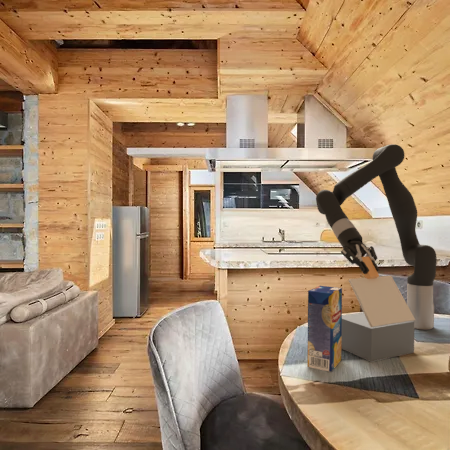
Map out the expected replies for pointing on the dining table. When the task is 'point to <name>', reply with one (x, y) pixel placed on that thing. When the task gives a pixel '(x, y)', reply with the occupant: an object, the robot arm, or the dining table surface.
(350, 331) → the carton
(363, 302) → the lid flap
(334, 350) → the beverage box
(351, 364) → the dining table surface
